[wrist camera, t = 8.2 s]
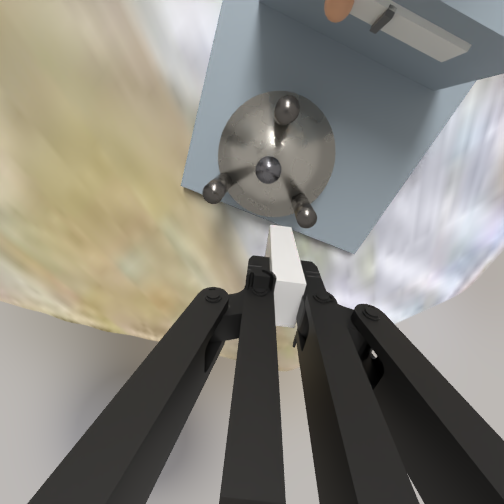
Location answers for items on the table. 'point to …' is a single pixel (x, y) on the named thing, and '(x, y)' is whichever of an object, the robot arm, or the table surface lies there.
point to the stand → (349, 89)
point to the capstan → (275, 157)
